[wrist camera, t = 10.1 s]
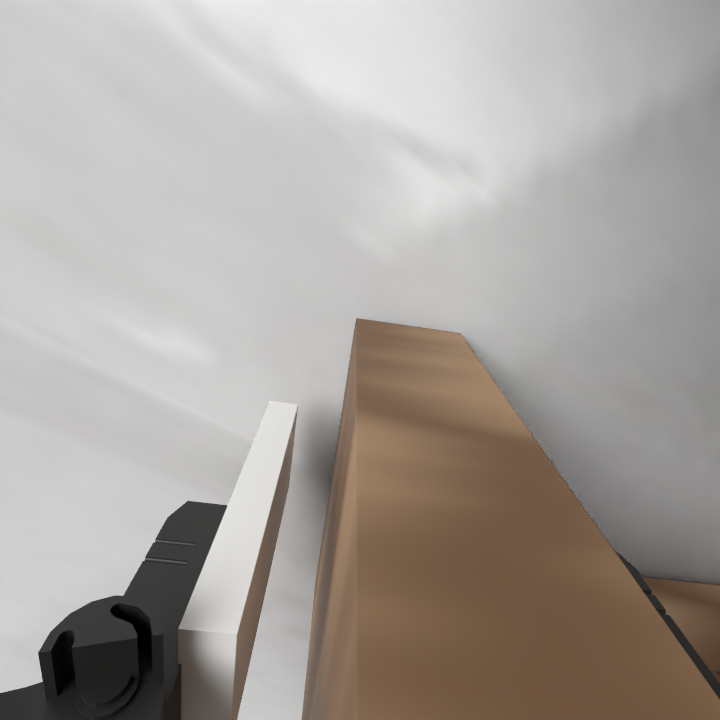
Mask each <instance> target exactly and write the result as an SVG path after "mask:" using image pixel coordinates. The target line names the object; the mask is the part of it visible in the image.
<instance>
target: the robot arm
mask: <svg viewBox="0 0 720 720" xmlns="http://www.w3.org/2000/svg"><path fill="white" fill-rule="evenodd" d="M297 408H298V404H293V403H285V402H278V401H269V404H268V406H267V409H266V411H265V414H264V416H263V419H262V421H261V424H260V426H259V429H258V431H257V434H256V436H255V439H254V441H253V444H252V446H251V449H250V451H249V453H248V456H247V458H246V461H245V463H244V466H243V468H242V471H241V473H240V476H239V478H238V481H237V483H236V486H235V488H234V491H233V493H232V496H231V498H230V501H229V503H228V506H227V505H218V504H210V503H201V502H192V501H187V502H186V503H185V504H184V505H182V506H181V507H180V508H179V509H178V510H176V511H175V512H174V513H173V514H171V515H170V516H169V517H168V518H167V520H166V521H165V523H164V525H163V527H162V529H161V530H160V532H159V534H158V536H157V537H156V541H155V543H153V544H152V546H151V548H150V550H149V551H148V553H147V555H146V558H145V561H143V562H142V564H141V566H140V567H139V569H138V571H137V573H136V574H135V576H134V578H133V580H132V581H131V583H130V585H129V587H128V589H127V590H126V592H125V594H124V596H112V597H108V598H104V599H100V600H97V601H93V602H91V603H89V604H87V605H85V606H83V607H82V608H80V609H78V610H76V611H74V612H72V613H71V614H69V615H68V616H67V617H66V618H65V619H64V620H63V621H62V622H61V623H60V624H58V625H57V626H56V627H55V628H54V629H53V630H52V631H51V632H50V634H49V635H48V637H47V639H46V641H45V642H44V644H43V646H42V647H41V649H40V651H39V652H38V654H39V660H40V666H41V672H42V679H43V682H41V683H38V684H35V685H32V686H28V687H25V688H21V689H17V690H12V691H8V692H4V693H0V720H237V717H238V712H239V708H240V703H241V699H242V694H243V690H244V685H245V681H246V676H247V672H248V667H249V663H250V658H251V654H252V650H253V645H254V641H255V636H256V632H257V627H258V623H259V618H260V614H261V609H262V605H263V600H264V596H265V591H266V587H267V582H268V578H269V573H270V569H271V564H272V560H273V555H274V551H275V546H276V542H277V537H278V533H279V528H280V524H281V519H282V515H283V510H284V506H285V501H286V497H287V492H288V488H289V480H290V471H291V462H292V453H293V444H294V435H295V426H296V417H297ZM613 550H614V549H613ZM614 551H615V550H614ZM615 553H616V554H617V555H618V557H619V558H620V560H621V561H622V562H623V564H624V565H625V567H626V568H627V569H628V571H629V572H630V574H631V575H632V577H633V578H634V579H635V581H636V582H637V584H638V585H639V586H640V588H641V589H642V591H643V592H644V593H645V595H646V596H647V598H648V599H649V601H650V602H651V603H652V605H653V606H654V608H655V609H656V610H657V612H658V613H659V615H660V616H661V617H662V619H663V620H664V622H665V623H666V625H667V626H668V627H669V629H670V630H671V632H672V633H673V634H674V636H675V637H676V639H677V640H678V642H679V643H680V644H681V646H682V647H683V649H684V650H685V651H686V653H687V654H688V656H689V657H690V658H691V660H692V661H693V663H694V664H695V666H696V667H697V668H698V670H699V671H700V673H701V674H702V675H703V677H704V678H705V680H706V681H707V682H708V684H709V685H710V687H711V688H712V690H713V691H714V692H715V694H716V695H717V697H718V698H719V699H720V683H719V682H718V681H717V679H716V678H715V677H714V675H713V674H712V672H711V671H710V670H709V668H708V667H707V666H706V664H705V663H704V662H703V660H702V659H701V657H700V656H699V655H698V653H697V652H696V651H695V649H694V648H693V646H692V645H691V644H690V642H689V641H688V640H687V638H686V637H685V636H684V634H683V633H682V631H681V630H680V629H679V627H678V626H677V625H676V623H675V622H674V620H673V619H672V618H671V616H670V615H667V614H666V610H665V608H664V607H663V605H662V604H661V603H660V601H659V600H658V599H657V597H656V596H655V595H652V590H651V589H650V588H649V586H648V585H647V584H646V582H645V581H644V579H643V578H642V577H641V575H640V574H639V573H638V571H637V570H636V568H634V567H633V566H632V565H631V564H630V563H629V562H628V561H626V560H625V559H624V558H623V557H622V556H621V555H620V554H618V553H617V552H616V551H615Z"/></svg>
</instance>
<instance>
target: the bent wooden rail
mask: <svg viewBox="0 0 720 720" xmlns="http://www.w3.org/2000/svg"><path fill="white" fill-rule="evenodd" d="M642 578H643V579H644V581H645V582H646V584H647V585H648V586H649V588H650V589H651V590H652V595H655V596H656V597H657V599H658V600H659V601H660V603H661V604H662V605H663V607H664V608H665V610H666V614H667V615H670V616H671V618H672V619H673V620H674V622H675V623H676V625H677V626H678V627H679V629H680V630H681V631H682V633H683V634H684V636H685V637H686V638H687V640H688V641H689V642H690V644H691V645H692V646H693V648H694V649H695V651H696V652H697V653H698V655H699V656H700V657H701V659H702V660H703V662H704V663H705V664H706V666H707V667H708V668H709V670H710V671H718V672H720V585H711V584H702V583H693V582H684V581H675V580H666V579H657V578H648V577H642ZM302 720H720V699H719V698H718V697H717V695H716V694H715V692H714V691H713V690H712V688H711V687H710V685H709V684H708V682H707V681H706V680H705V678H704V677H703V675H702V674H701V673H700V671H699V670H698V668H697V667H696V666H695V664H694V663H693V661H692V660H691V658H690V657H689V656H688V654H687V653H686V651H685V650H684V649H683V647H682V646H681V644H680V643H679V642H678V640H677V639H676V637H675V636H674V634H673V633H672V632H671V630H670V629H669V627H668V626H667V625H666V623H665V622H664V620H663V619H662V617H661V616H660V615H659V613H658V612H657V610H656V609H655V608H654V606H653V605H652V603H651V602H650V601H649V599H648V598H647V596H646V595H645V593H644V592H643V591H642V589H641V588H640V586H639V585H638V584H637V582H636V581H635V579H634V578H633V577H632V575H631V574H630V572H629V571H628V569H627V568H626V567H625V565H624V564H623V562H622V561H621V560H620V558H619V557H618V555H617V554H616V553H615V551H614V550H613V548H612V547H611V545H610V544H609V543H608V541H607V540H606V538H605V537H604V536H603V534H602V533H601V531H600V530H599V528H598V527H597V526H596V524H595V523H594V521H593V520H592V519H591V517H590V516H589V514H588V513H587V512H586V510H585V509H584V507H583V506H582V504H581V503H580V502H579V500H578V499H577V497H576V496H575V495H574V493H573V492H572V490H571V489H570V488H569V486H568V485H567V483H566V482H565V480H564V479H563V478H562V476H561V475H560V473H559V472H558V471H557V469H556V468H555V466H554V465H553V463H552V462H551V461H550V459H549V458H548V456H547V455H546V454H545V452H544V451H543V449H542V448H541V447H540V445H539V444H538V442H537V441H536V439H535V438H534V437H533V435H532V434H531V432H530V431H529V430H528V428H527V427H526V425H525V424H524V423H523V421H522V420H521V418H520V417H519V415H518V414H517V413H516V411H515V410H514V408H513V407H512V406H511V404H510V403H509V401H508V400H507V399H506V397H505V396H504V394H503V393H502V391H501V390H500V389H499V387H498V386H497V384H496V383H495V382H494V380H493V379H492V377H491V376H490V374H489V373H488V372H487V370H486V369H485V367H484V366H483V365H482V363H481V362H480V360H479V359H478V358H477V356H476V355H475V353H474V352H473V350H472V349H471V348H470V346H469V345H468V343H467V342H466V341H465V339H464V338H463V336H462V335H461V334H460V333H455V332H448V331H441V330H434V329H427V328H420V327H413V326H406V325H399V324H392V323H385V322H379V321H372V320H365V319H358V318H356V323H355V330H354V336H353V343H352V349H351V356H350V362H349V369H348V375H347V382H346V388H345V395H344V401H343V408H342V414H341V421H340V427H339V434H338V440H337V447H336V453H335V460H334V466H333V473H332V479H331V486H330V492H329V499H328V505H327V512H326V518H325V525H324V531H323V538H322V544H321V551H320V557H319V564H318V570H317V577H316V584H315V594H314V604H313V613H312V623H311V633H310V643H309V653H308V663H307V673H306V683H305V692H304V702H303V712H302Z"/></svg>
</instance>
